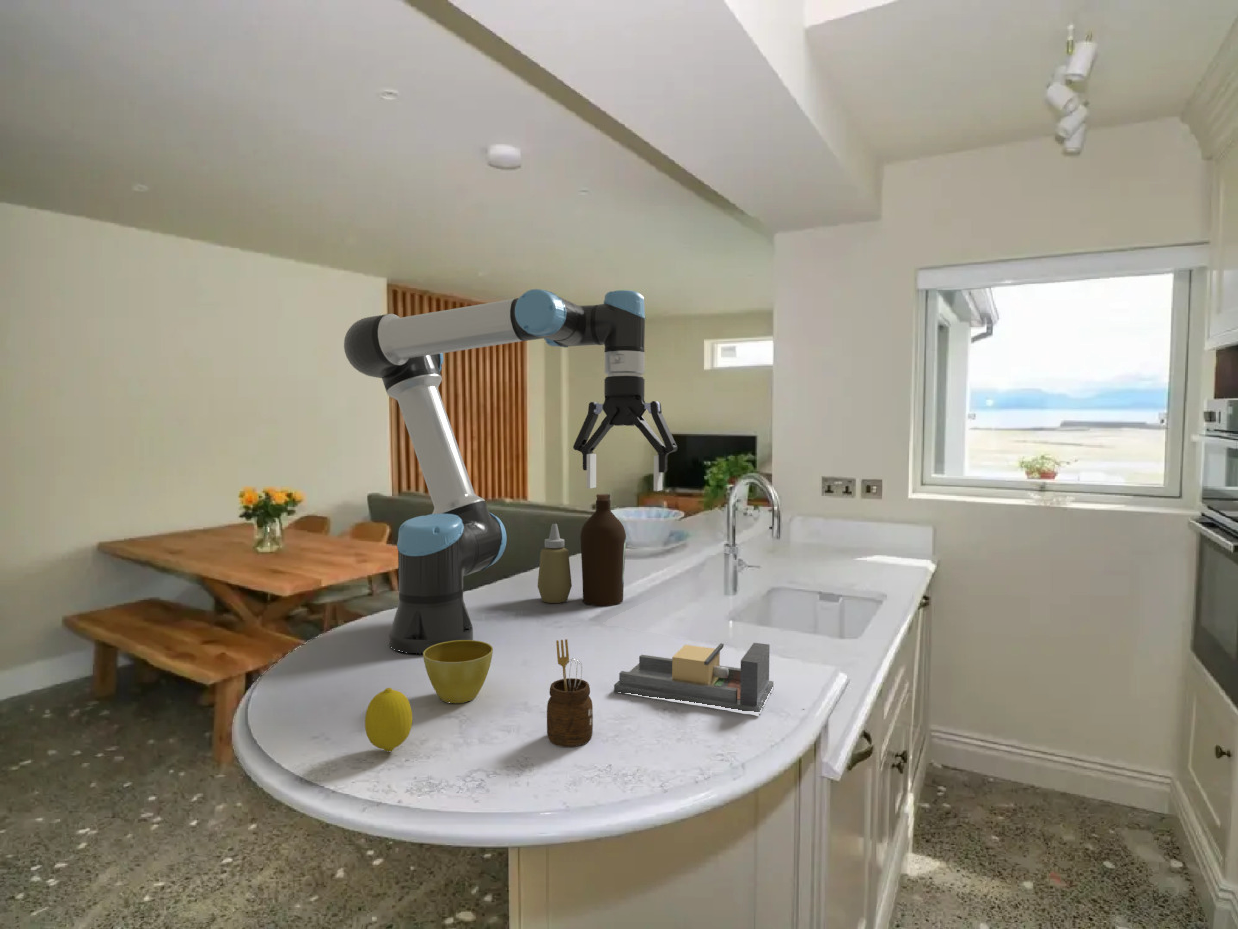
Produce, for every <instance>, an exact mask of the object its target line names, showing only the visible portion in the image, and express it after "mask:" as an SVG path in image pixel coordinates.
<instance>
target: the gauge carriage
mask: <svg viewBox="0 0 1238 929" xmlns="http://www.w3.org/2000/svg"><path fill="white" fill-rule="evenodd" d="M723 648H724V643H722V642H720V643H719V644H718V645H717V646H716V647H715V648H712V647H705V646H699V645H698V646H697V645H690V644H684V645H683V646H682V647H681V648H680V649H679V650H678V651H677V652H676V653H675V654H674V655H672V658H671V659H672V679H678V680H685V681H691V682H698V683H704V684H711V685H714V684H715V682H716V681H717V680H718V678H719V677H720V678H728V672H729V670H728V667H729V666H727V667H721V666H722V665H720V662H721V661H720V660H721V658H720V657H721V656H720V655H721V653H720V652H721V651H722V649H723Z"/></svg>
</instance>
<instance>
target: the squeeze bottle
mask: <svg viewBox="0 0 1238 929" xmlns="http://www.w3.org/2000/svg"><path fill="white" fill-rule="evenodd" d="M569 554H570V553H569V549H567V548H566V547H565V539H564V538H561V537H560V532H559V527H558V524H557V523H552V524H551V527H550V532H549V538H545V539H544V548H542V549H541V550H540V556H539V565H538V566H539V569H538V578H537V589H538V592H539V595H540V599H541V602H544V603H548V604H559V603H564V602H567V601H568V600H569V596H570V592H571V589H572V586H573V585H572V574H571V566H570V557H569V556H570V555H569Z"/></svg>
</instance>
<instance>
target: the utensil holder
mask: <svg viewBox="0 0 1238 929" xmlns="http://www.w3.org/2000/svg"><path fill="white" fill-rule="evenodd" d="M555 641H556V642H555V644H556V656H557V665H559V666H561V667H562V677H563V678H560V679H557V680H554V681H553V682H552V683H551V684H550V687H549V693H548V694H549V696H550V697H549V699H548V701H547V705H546V734H547V739H548V741H549V742H550V743H551V744H553V745H555V746H557V747H562V748H576V747H580V746H584V745H585V744H587V743H588V742H590V740H592V736H593V725H594V718H593V717H594V715H593V714H594V713H593V712H594V709H593V707H594V706H593V701H592V698H591V697H590V694H591V688H590V684H589V682H588V681H586V680H584V679H582V678H583V677H582V674H583V667H582V666H583V664H582V663H581V662H580V660H579V659H577V658H571V659H570V655H569V654H570V652H569V642H568V639H567V638H566V639H565V640H563V639H560V641H559V640H555ZM559 642H560V643H559ZM564 644H565V648H564ZM560 647H561V650H560ZM560 651H561V653H560ZM560 654H561V655H560ZM572 662H575V664H574V665H576V666H575V667H576V668H575V669H576V672H575V674H576V675H575V677H574V678H573V677H571V671H569V672H568V673H569V674H568V677H567V673H566V669H567V668H566V667H567V666H568V665H569V663H570V665H569V666H570V667H569V669H571V667H572V664H573V663H572ZM578 665H580V669H581V672H580V674H581V676H580V678H577V675H578Z"/></svg>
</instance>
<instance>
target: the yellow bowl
mask: <svg viewBox="0 0 1238 929" xmlns="http://www.w3.org/2000/svg"><path fill="white" fill-rule="evenodd" d="M493 650H494V647H493V646H492V645H491V644H490V643H488V642H485V641H480V640H474V639H473V640H456V641H448V642H443V643H439V644H435V645H433V646H430V647H429V648H427V649H426V650H425V651H424V652H423V654H422V657H423V663H424V667H425V670H426V673H427V677H428V680H429V681H430V683H431V685H432V687H433V690H434V691H435V693H436V694H437V697H439V699H440V700H441V699H442V700H443V701H445V702H450V703H462V704H464V703H463V702H467V701H470V700H472V699H473V700H475V699H476V698H477V696H478V694H479V693H480V691H481V689H482V688H483V685H484V684H485V682H486V679H487V677H488V674H489V670H490V667H491V664H492V659H493V652H494V651H493ZM474 698H475V699H474ZM442 700H441V701H442ZM473 700H472V701H473ZM443 701H442V702H443ZM445 702H444V703H445ZM470 702H471V701H470ZM467 703H468V702H467Z"/></svg>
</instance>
